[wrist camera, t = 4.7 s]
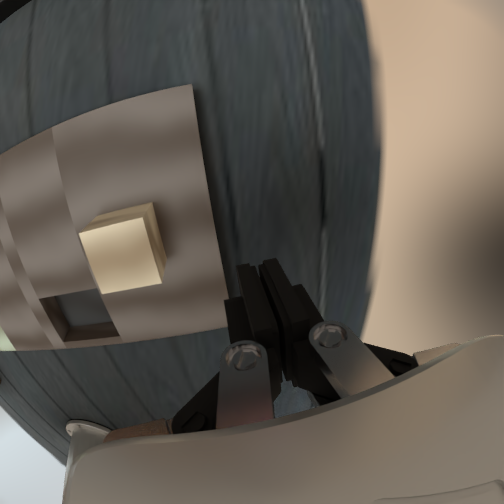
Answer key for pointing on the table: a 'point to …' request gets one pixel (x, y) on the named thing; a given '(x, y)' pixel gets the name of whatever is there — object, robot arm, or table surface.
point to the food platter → (10, 7)
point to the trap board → (101, 202)
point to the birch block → (125, 249)
